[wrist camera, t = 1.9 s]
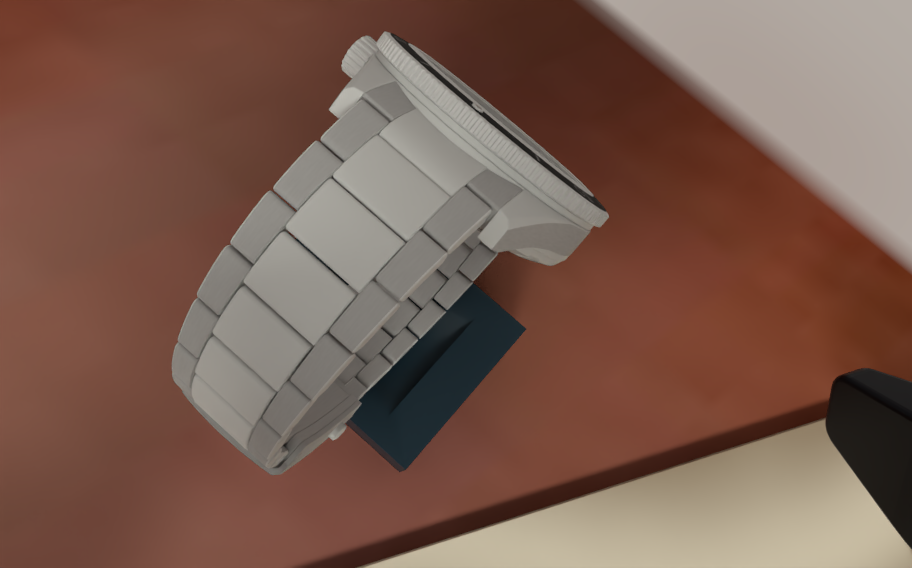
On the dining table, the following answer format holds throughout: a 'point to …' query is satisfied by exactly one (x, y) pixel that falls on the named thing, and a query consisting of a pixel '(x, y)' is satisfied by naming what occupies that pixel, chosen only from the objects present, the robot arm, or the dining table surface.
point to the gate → (698, 518)
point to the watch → (376, 268)
